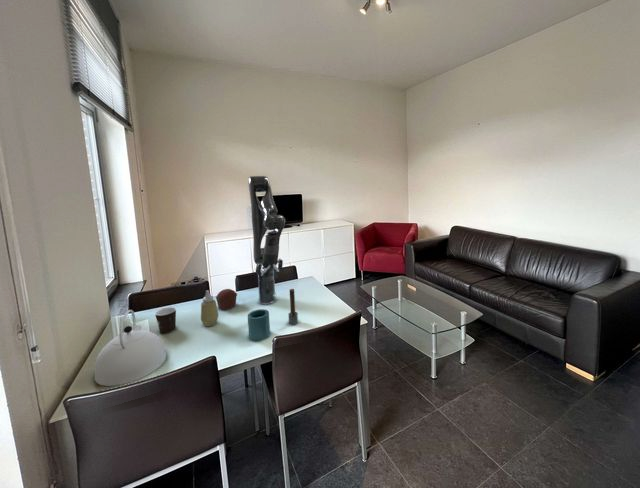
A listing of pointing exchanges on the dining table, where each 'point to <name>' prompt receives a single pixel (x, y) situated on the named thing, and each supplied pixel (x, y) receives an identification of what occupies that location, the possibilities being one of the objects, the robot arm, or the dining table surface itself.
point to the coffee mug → (166, 319)
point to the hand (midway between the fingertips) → (268, 279)
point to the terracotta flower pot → (226, 299)
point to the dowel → (292, 309)
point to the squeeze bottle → (209, 310)
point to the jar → (258, 325)
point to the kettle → (129, 356)
